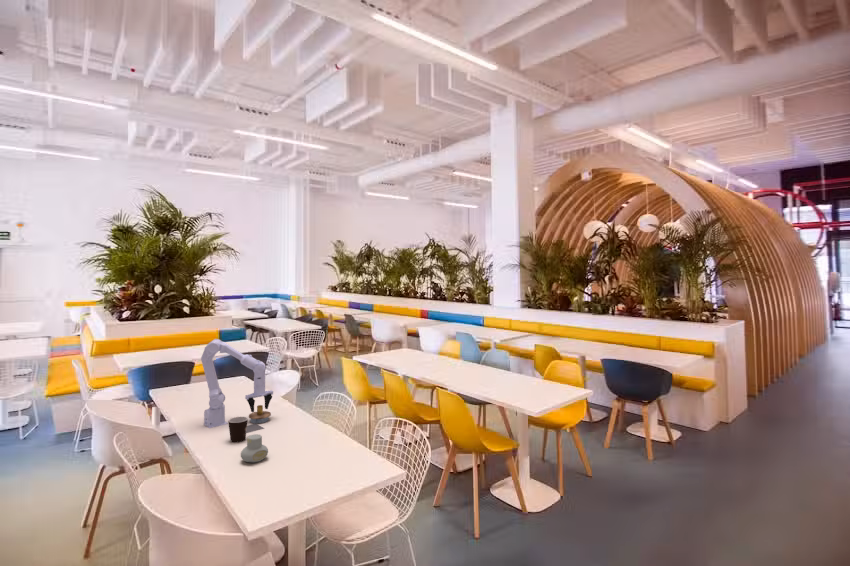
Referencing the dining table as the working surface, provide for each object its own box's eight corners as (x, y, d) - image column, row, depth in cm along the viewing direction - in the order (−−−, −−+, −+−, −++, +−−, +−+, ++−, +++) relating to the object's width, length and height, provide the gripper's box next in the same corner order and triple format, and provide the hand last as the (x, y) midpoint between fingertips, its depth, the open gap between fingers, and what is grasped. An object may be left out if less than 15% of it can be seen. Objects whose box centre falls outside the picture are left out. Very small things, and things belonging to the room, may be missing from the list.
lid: (253, 420, 228) (253, 410, 227) (245, 415, 236) (245, 405, 236) (274, 416, 235) (274, 406, 235) (266, 411, 243) (266, 401, 243)
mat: (245, 434, 217) (245, 433, 217) (236, 428, 224) (236, 428, 224) (264, 429, 224) (264, 428, 224) (256, 424, 231) (256, 423, 231)
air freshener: (261, 453, 194) (261, 430, 194) (271, 458, 189) (271, 435, 189) (237, 461, 186) (237, 437, 185) (247, 467, 180) (247, 442, 180)
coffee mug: (240, 444, 203) (240, 423, 203) (224, 443, 205) (224, 421, 205) (255, 435, 215) (255, 415, 214) (239, 434, 216) (239, 414, 216)
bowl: (254, 425, 229) (254, 419, 229) (247, 421, 236) (247, 415, 236) (271, 421, 236) (271, 415, 236) (263, 417, 242) (263, 411, 242)
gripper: (249, 388, 227) (249, 414, 228) (275, 384, 238) (275, 409, 238) (243, 386, 232) (243, 411, 233) (269, 381, 243) (269, 406, 243)
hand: (259, 410), depth 236 cm, fingers open, 7 cm apart
